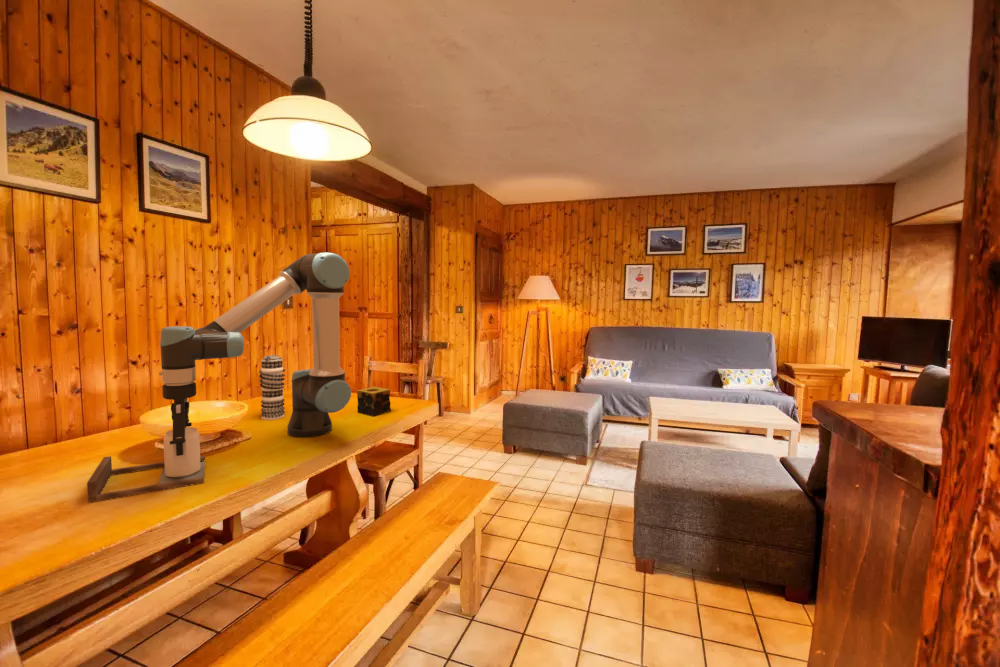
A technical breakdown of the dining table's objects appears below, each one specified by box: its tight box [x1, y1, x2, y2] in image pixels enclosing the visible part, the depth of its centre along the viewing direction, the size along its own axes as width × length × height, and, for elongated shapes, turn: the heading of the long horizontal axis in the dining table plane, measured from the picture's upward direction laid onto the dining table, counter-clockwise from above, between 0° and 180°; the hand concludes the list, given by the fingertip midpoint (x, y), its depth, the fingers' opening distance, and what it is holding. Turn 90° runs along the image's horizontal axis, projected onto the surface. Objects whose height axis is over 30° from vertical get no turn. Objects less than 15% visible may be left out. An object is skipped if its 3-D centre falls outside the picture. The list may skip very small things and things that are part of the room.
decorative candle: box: [258, 354, 286, 421], centre depth 177 cm, size 9×9×25 cm
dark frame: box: [86, 455, 206, 503], centre depth 119 cm, size 23×18×5 cm
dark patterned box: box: [356, 386, 392, 417], centre depth 189 cm, size 10×10×10 cm
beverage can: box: [162, 426, 201, 477], centre depth 122 cm, size 8×8×12 cm
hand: (182, 457), depth 122 cm, fingers open, 13 cm apart
